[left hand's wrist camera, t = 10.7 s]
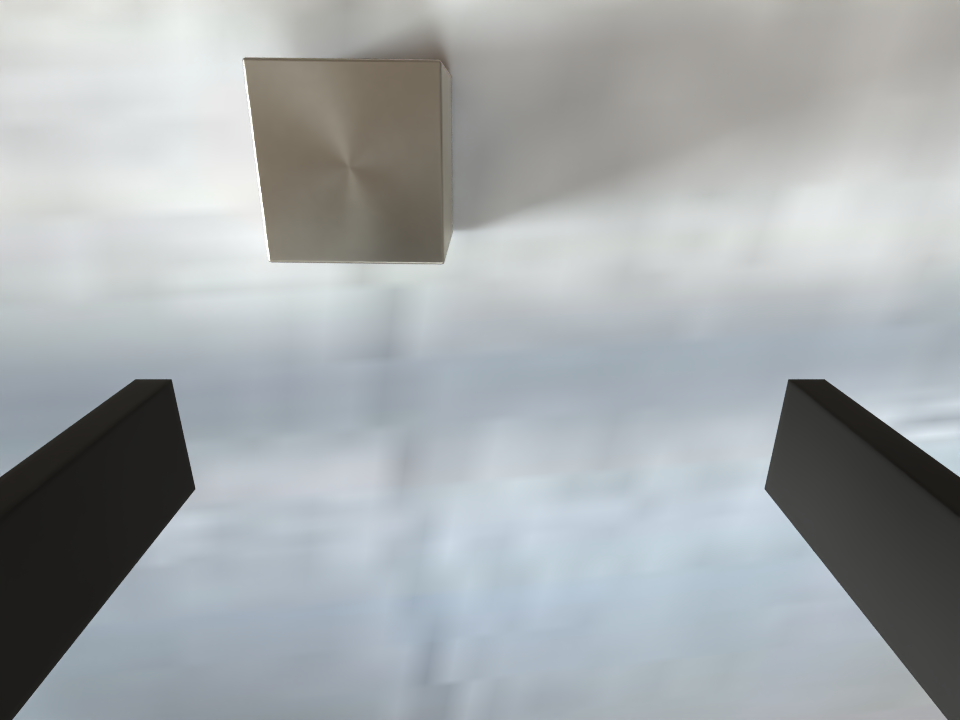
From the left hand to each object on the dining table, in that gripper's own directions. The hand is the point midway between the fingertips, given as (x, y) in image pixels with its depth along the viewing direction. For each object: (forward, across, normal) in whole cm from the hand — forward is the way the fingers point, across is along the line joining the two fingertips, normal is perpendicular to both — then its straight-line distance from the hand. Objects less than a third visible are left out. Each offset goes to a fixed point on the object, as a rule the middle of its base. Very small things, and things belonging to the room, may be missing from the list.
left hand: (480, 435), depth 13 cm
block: (+10, +4, -5) cm, 12 cm away
